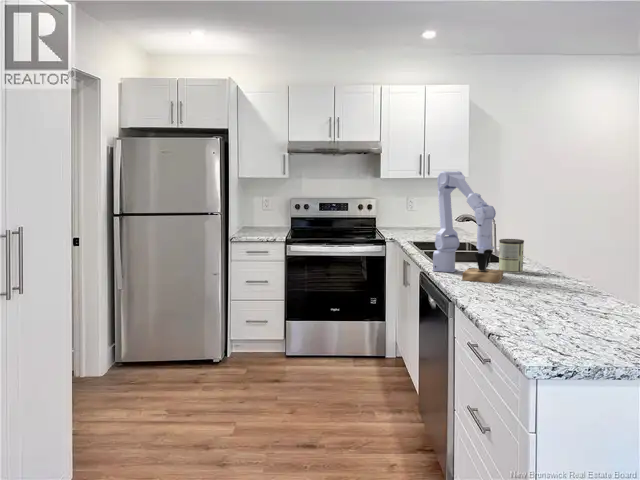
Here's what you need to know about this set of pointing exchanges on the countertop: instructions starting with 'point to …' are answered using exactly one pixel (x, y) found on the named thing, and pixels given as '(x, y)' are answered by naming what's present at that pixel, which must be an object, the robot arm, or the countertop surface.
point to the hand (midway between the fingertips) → (483, 268)
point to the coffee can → (511, 255)
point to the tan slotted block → (482, 275)
